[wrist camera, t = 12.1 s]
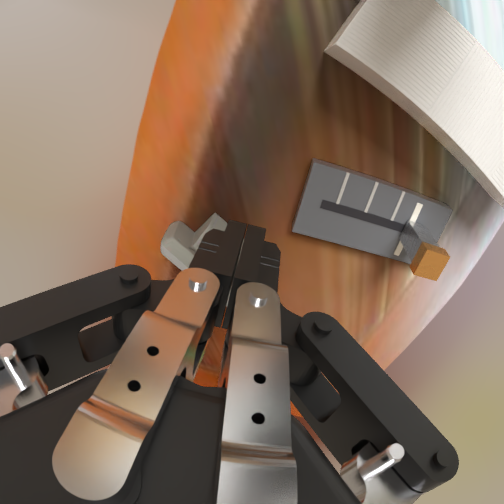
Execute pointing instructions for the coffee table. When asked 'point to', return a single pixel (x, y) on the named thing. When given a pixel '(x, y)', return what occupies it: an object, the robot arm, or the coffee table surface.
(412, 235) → the fader
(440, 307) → the coffee table surface
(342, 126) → the coffee table surface
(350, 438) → the robot arm
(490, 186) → the stack of papers
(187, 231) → the digital clock
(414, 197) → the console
